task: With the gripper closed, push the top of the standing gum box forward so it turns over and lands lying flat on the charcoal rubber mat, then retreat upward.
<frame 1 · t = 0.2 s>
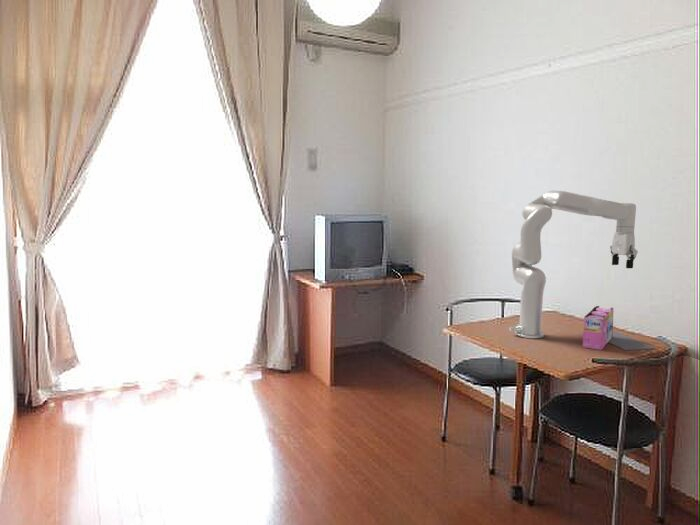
hand: (622, 266, 255), 31 cm above the table, fingers open, 9 cm apart
mat: (621, 341, 243), on the table
gum box: (598, 342, 242), on the table, touching mat
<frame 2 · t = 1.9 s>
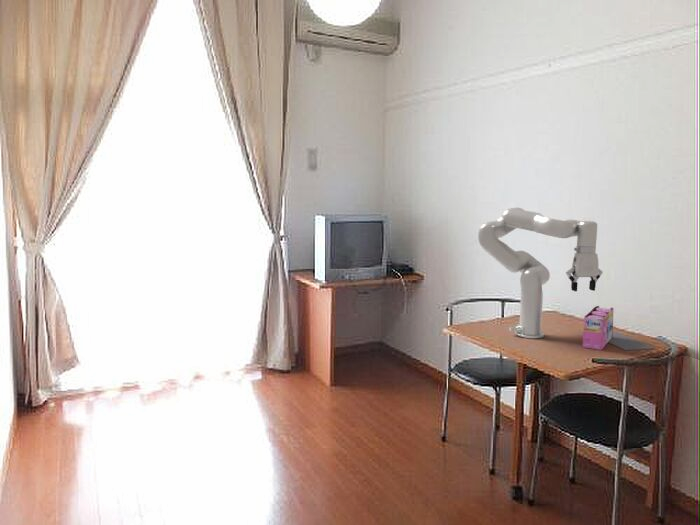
hand: (583, 290, 236), 24 cm above the table, fingers open, 7 cm apart
nothing on the table moved.
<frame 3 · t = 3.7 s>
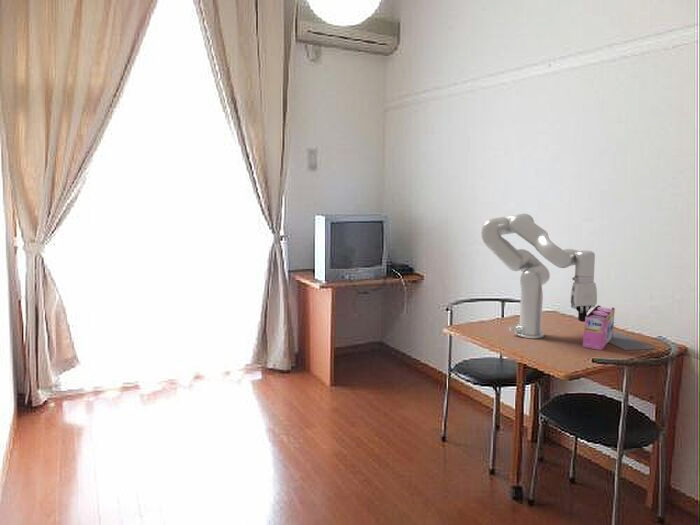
hand: (582, 320, 238), 10 cm above the table, fingers closed
nothing on the table moved.
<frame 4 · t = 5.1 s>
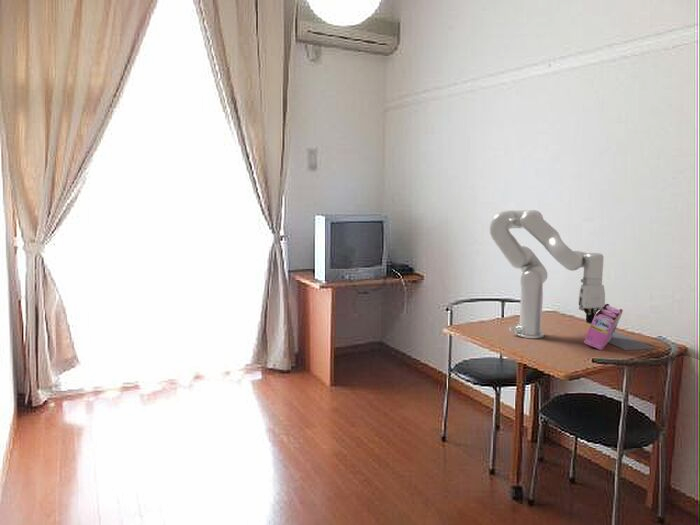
hand: (589, 322, 239), 9 cm above the table, fingers closed
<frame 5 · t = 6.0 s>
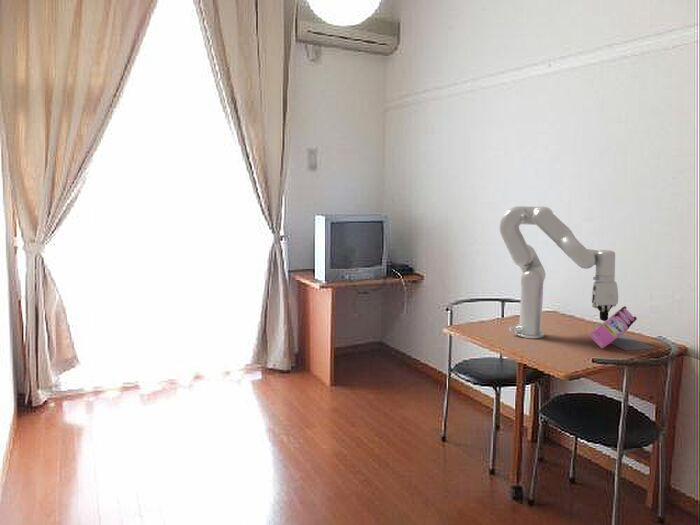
hand: (603, 320, 239), 10 cm above the table, fingers closed
gum box: (601, 336, 241), point 3 cm above the table, touching gripper, mat
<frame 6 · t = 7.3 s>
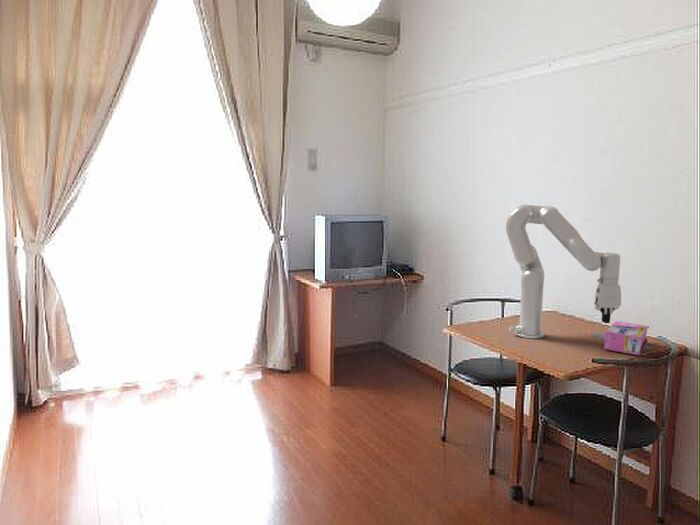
hand: (605, 322, 241), 9 cm above the table, fingers closed
gum box: (609, 334, 239), point 4 cm above the table, touching mat
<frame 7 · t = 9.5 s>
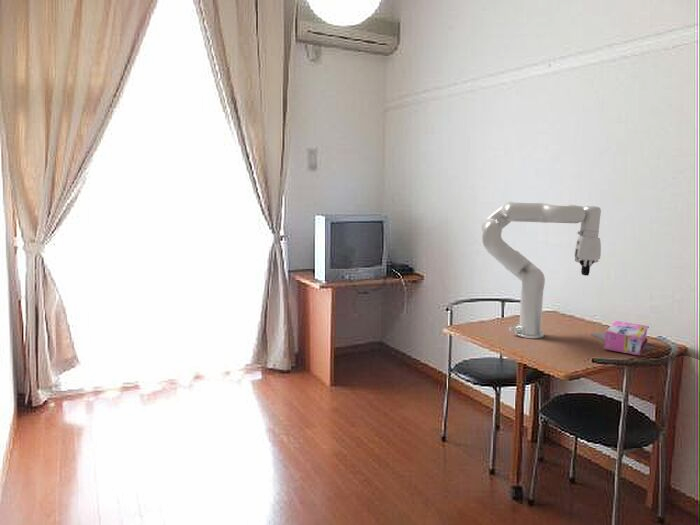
hand: (585, 274, 245), 29 cm above the table, fingers closed
nothing on the table moved.
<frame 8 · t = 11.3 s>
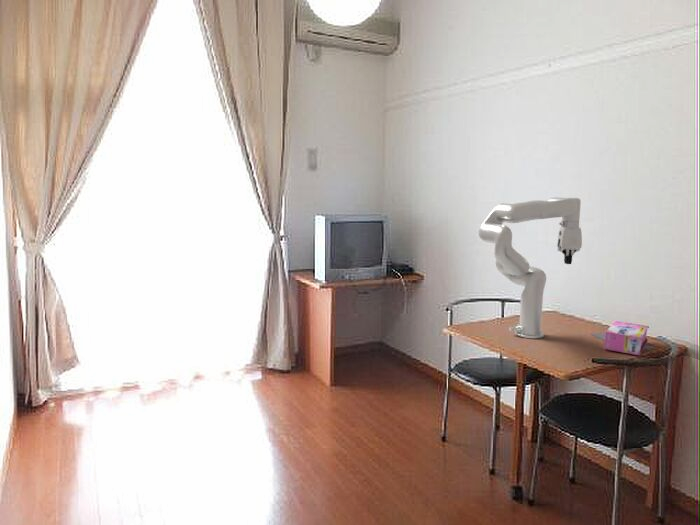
hand: (567, 263, 256), 32 cm above the table, fingers closed
nothing on the table moved.
at the end: gum box tilted 91°; gum box inside the target area (7.3 cm from its centre), point 4.4 cm above the table; the gripper is holding nothing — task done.
